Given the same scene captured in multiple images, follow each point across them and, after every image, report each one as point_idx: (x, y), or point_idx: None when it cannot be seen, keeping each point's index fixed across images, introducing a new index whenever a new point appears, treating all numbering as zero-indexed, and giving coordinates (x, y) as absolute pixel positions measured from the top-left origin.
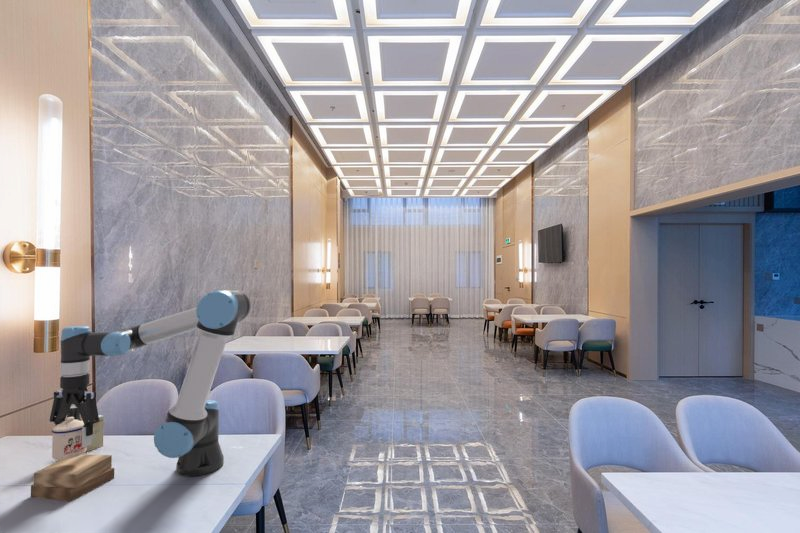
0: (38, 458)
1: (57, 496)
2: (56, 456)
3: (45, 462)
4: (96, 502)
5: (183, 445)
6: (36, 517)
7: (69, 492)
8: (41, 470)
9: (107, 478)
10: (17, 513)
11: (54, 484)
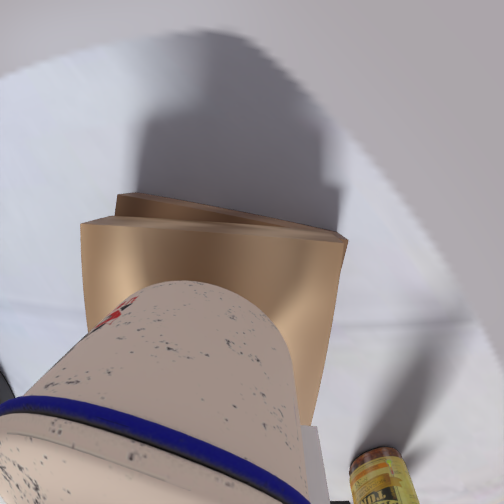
0: (468, 454)
1: (195, 204)
2: (199, 287)
3: (443, 446)
4: (52, 191)
5: None
6: (176, 80)
7: (129, 195)
8: (324, 276)
9: None
10: (276, 103)
11: (215, 224)
